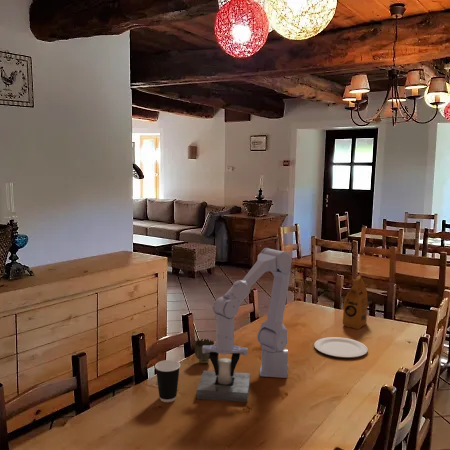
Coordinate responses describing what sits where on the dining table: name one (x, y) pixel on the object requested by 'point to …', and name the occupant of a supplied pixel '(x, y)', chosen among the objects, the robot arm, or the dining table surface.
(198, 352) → the cup
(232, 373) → the robot arm
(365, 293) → the coffee package
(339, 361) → the dining table surface
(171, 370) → the dixie cup
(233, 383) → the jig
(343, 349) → the plate
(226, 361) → the white rounded cylinder
